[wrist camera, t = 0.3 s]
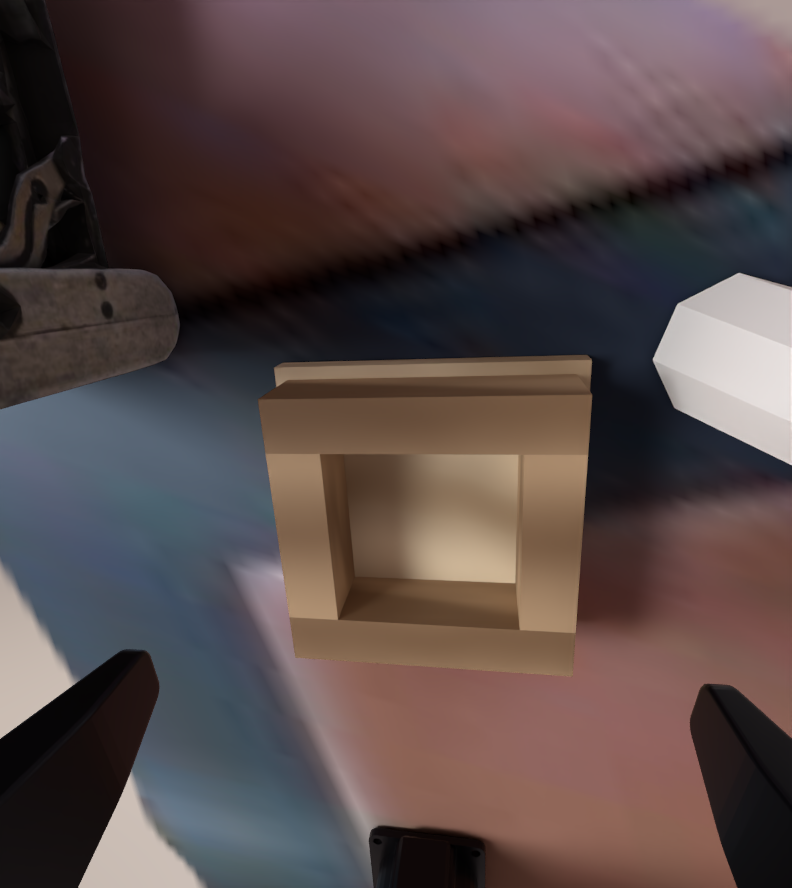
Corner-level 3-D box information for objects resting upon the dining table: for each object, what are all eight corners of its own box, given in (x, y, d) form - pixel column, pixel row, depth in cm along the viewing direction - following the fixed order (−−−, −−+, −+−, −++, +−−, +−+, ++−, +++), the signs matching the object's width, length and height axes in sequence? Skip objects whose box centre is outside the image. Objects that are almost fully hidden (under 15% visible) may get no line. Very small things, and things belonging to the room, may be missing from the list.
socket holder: (569, 620, 24) (585, 687, 20) (313, 606, 26) (285, 666, 22) (587, 354, 20) (610, 378, 16) (282, 362, 22) (241, 385, 18)
